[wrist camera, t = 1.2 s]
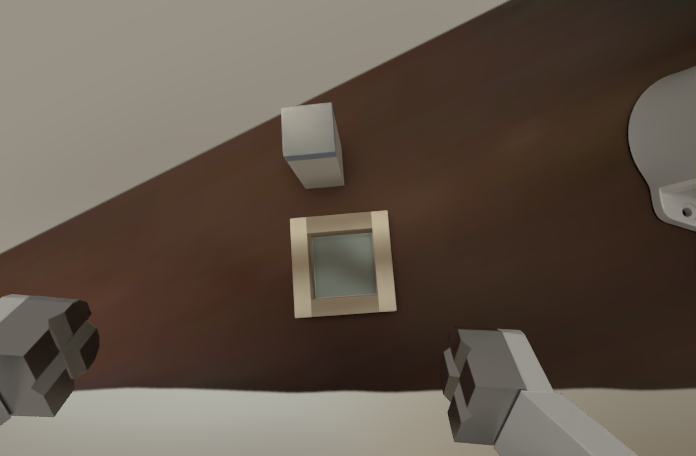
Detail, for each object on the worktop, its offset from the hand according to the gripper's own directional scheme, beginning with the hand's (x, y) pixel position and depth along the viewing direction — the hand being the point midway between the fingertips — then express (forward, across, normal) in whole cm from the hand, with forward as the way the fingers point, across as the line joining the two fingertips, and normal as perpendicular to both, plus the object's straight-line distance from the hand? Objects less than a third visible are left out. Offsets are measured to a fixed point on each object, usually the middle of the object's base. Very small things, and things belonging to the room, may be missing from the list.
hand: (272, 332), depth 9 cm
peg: (+31, 0, +9) cm, 32 cm away
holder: (+25, -2, +16) cm, 30 cm away
